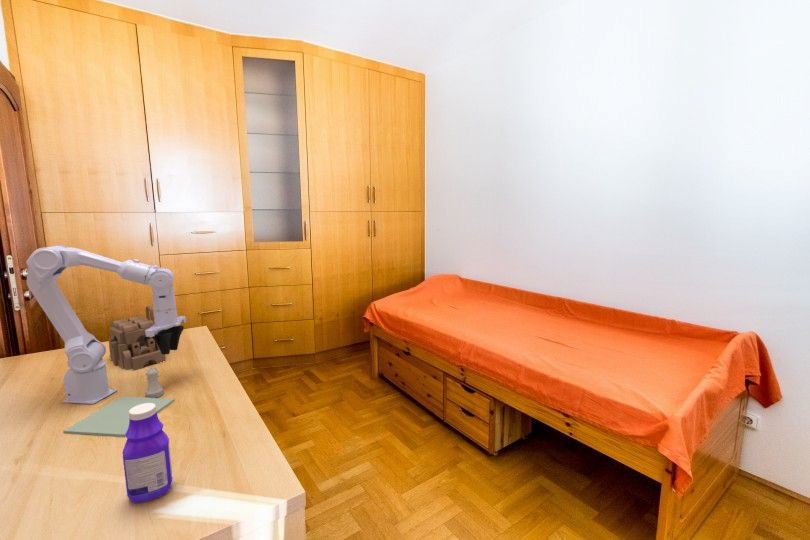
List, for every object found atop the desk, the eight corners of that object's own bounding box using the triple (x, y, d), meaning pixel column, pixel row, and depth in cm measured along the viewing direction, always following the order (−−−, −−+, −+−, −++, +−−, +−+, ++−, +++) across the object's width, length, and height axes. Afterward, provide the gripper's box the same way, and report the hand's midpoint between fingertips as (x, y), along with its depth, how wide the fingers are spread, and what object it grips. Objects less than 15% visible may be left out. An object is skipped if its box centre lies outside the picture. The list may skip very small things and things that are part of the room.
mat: (63, 433, 91) (63, 430, 90) (122, 398, 107) (122, 396, 107) (124, 436, 89) (124, 434, 89) (174, 401, 106) (174, 399, 106)
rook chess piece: (154, 400, 106) (151, 373, 105) (141, 398, 107) (138, 372, 106) (167, 392, 111) (165, 367, 109) (154, 391, 112) (152, 365, 110)
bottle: (174, 477, 76) (166, 396, 73) (173, 495, 71) (163, 410, 68) (130, 489, 72) (119, 405, 69) (125, 510, 67) (113, 420, 65)
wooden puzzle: (103, 358, 137) (96, 308, 134) (148, 346, 149) (143, 300, 146) (126, 373, 124) (119, 319, 121) (173, 359, 136) (168, 309, 133)
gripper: (159, 315, 105) (164, 361, 107) (193, 303, 119) (197, 343, 121) (136, 315, 106) (141, 360, 108) (172, 302, 120) (176, 343, 122)
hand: (169, 351), depth 115 cm, fingers open, 3 cm apart
